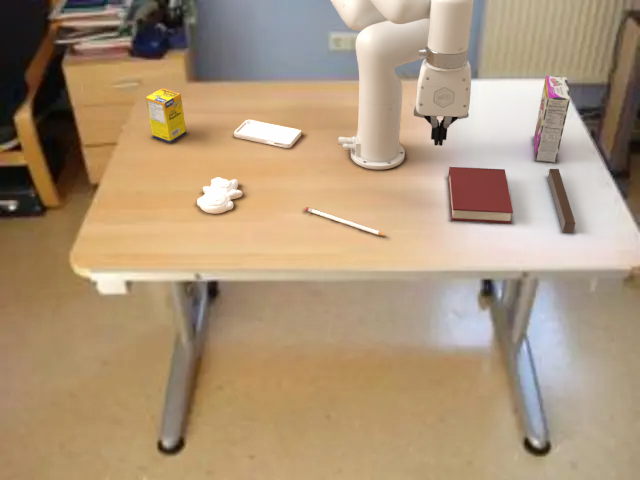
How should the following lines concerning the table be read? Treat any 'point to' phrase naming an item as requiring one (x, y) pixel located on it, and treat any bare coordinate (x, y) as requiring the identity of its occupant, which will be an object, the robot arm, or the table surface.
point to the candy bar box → (551, 118)
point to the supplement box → (166, 115)
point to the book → (479, 195)
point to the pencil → (345, 221)
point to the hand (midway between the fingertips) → (438, 142)
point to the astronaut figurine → (219, 196)
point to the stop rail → (561, 201)
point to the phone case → (268, 133)
